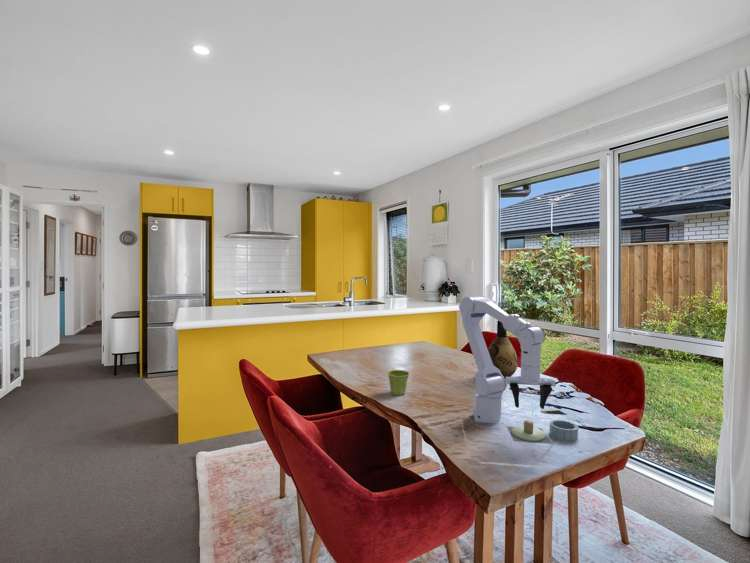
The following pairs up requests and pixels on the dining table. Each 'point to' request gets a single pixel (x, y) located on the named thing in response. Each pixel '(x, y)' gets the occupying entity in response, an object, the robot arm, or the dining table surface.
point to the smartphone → (557, 411)
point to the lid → (528, 432)
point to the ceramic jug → (503, 353)
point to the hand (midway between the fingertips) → (529, 407)
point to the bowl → (563, 430)
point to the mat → (529, 441)
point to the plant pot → (398, 381)
